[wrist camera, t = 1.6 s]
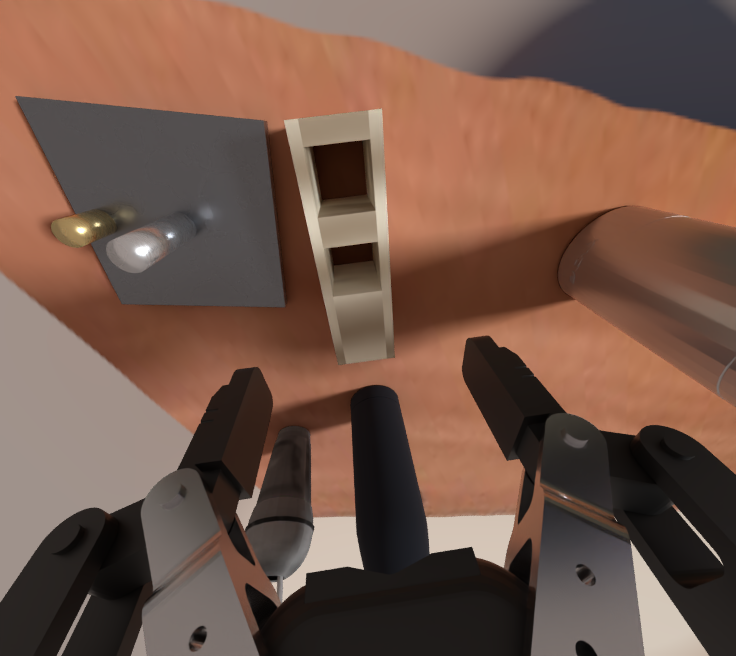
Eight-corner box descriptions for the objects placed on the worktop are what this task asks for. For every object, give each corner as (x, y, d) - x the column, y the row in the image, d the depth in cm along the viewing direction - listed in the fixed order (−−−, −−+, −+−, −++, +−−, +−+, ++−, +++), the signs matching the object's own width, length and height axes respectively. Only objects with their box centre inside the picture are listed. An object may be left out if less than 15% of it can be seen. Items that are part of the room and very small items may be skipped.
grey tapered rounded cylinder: (263, 421, 36) (202, 653, 20) (318, 418, 37) (302, 640, 20) (272, 451, 40) (228, 663, 24) (321, 448, 41) (310, 651, 25)
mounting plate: (266, 121, 18) (231, 111, 12) (286, 302, 26) (271, 351, 20) (31, 98, 16) (-151, 73, 10) (129, 298, 24) (59, 351, 18)
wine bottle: (407, 394, 36) (560, 951, 11) (379, 421, 38) (453, 913, 14) (368, 378, 33) (452, 1046, 9) (341, 408, 36) (348, 978, 11)
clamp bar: (384, 319, 28) (394, 357, 23) (338, 326, 28) (338, 365, 23) (370, 117, 18) (381, 108, 14) (298, 125, 18) (283, 120, 13)
